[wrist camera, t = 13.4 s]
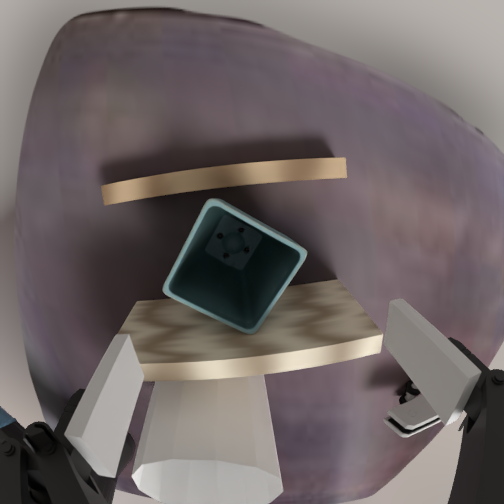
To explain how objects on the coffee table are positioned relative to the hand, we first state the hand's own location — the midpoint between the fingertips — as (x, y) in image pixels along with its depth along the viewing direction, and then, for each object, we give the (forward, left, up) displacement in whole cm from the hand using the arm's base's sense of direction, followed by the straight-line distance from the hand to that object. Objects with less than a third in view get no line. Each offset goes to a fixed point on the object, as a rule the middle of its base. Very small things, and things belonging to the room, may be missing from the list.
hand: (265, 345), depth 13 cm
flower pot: (-1, 0, -19) cm, 19 cm away
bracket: (+33, -31, -15) cm, 48 cm away
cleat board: (-2, 0, -19) cm, 19 cm away
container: (-7, -19, -19) cm, 28 cm away
